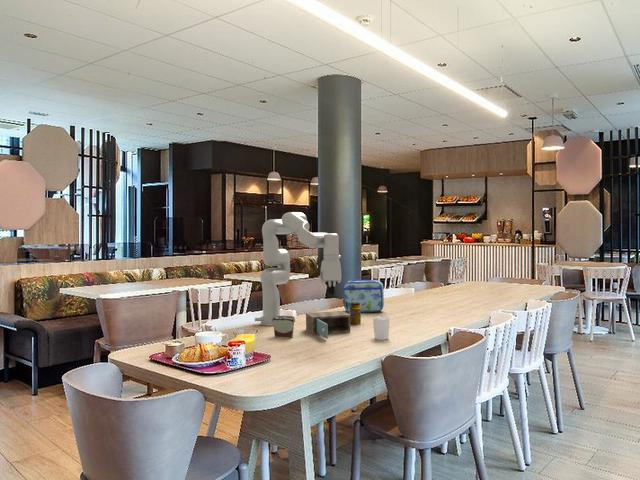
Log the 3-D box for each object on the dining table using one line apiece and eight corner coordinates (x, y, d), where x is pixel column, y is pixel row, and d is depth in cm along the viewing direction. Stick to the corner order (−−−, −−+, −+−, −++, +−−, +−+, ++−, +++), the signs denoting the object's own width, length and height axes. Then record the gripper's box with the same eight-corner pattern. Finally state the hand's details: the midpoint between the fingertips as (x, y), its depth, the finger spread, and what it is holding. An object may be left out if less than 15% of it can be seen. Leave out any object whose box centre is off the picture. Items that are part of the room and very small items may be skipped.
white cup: (379, 340, 249) (379, 319, 249) (370, 337, 256) (370, 317, 256) (392, 339, 252) (392, 318, 252) (383, 336, 259) (383, 316, 259)
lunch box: (342, 312, 335) (341, 280, 334) (345, 310, 345) (344, 278, 345) (382, 313, 329) (382, 280, 328) (384, 310, 339) (384, 278, 339)
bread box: (313, 334, 264) (313, 317, 264) (306, 329, 278) (305, 313, 278) (350, 332, 270) (350, 314, 270) (341, 327, 284) (341, 310, 283)
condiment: (363, 324, 293) (363, 302, 293) (351, 325, 288) (351, 304, 288) (356, 322, 299) (355, 301, 299) (344, 324, 294) (343, 302, 294)
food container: (299, 335, 263) (299, 316, 262) (294, 338, 257) (294, 318, 257) (276, 334, 267) (276, 314, 266) (271, 336, 261) (271, 316, 261)
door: (314, 332, 264) (314, 319, 264) (318, 332, 265) (317, 318, 265) (324, 339, 249) (323, 324, 249) (327, 338, 250) (327, 324, 250)
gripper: (341, 257, 268) (341, 292, 268) (314, 258, 262) (314, 294, 263) (347, 258, 261) (347, 294, 261) (320, 258, 255) (320, 296, 256)
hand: (331, 294), depth 262 cm, fingers closed
